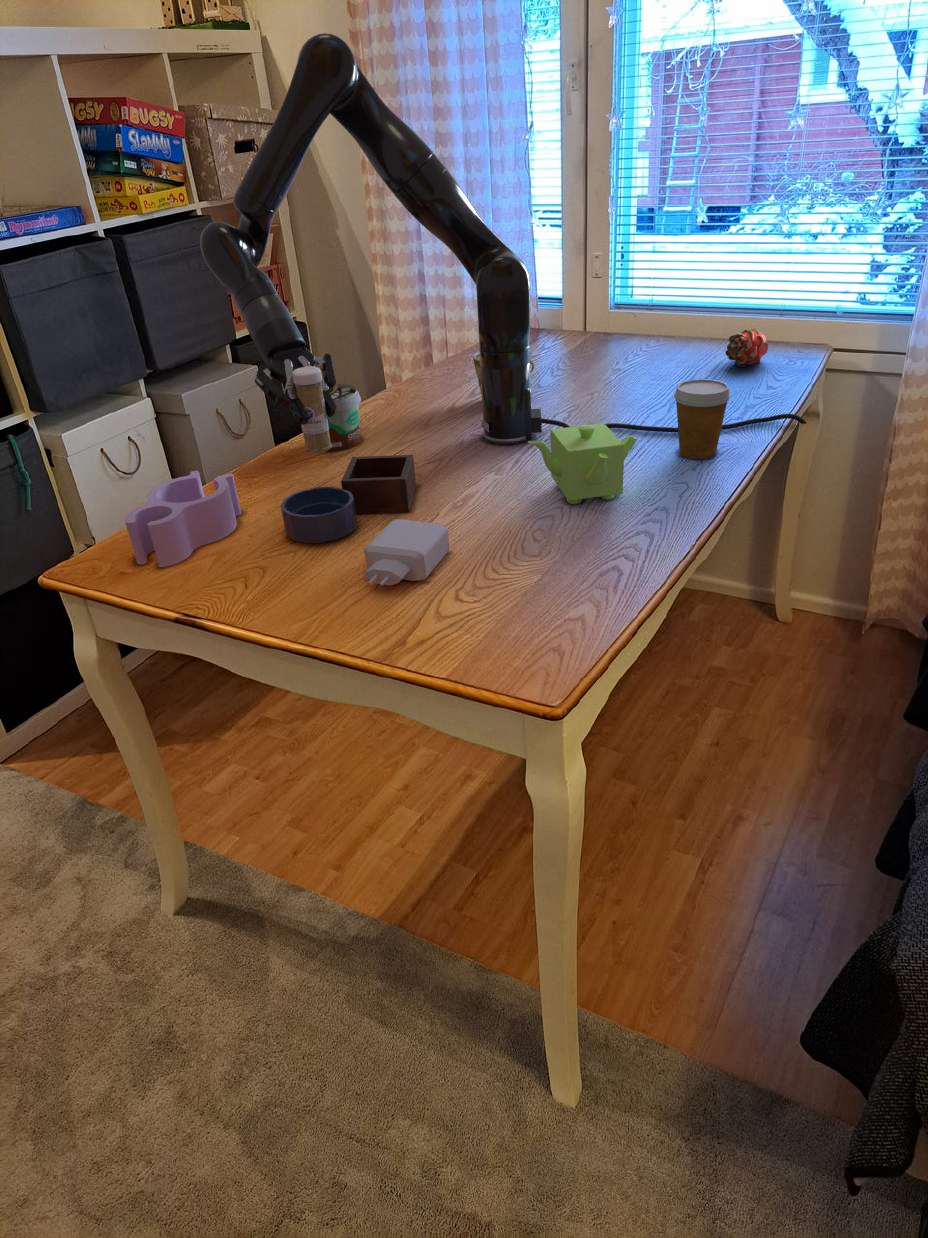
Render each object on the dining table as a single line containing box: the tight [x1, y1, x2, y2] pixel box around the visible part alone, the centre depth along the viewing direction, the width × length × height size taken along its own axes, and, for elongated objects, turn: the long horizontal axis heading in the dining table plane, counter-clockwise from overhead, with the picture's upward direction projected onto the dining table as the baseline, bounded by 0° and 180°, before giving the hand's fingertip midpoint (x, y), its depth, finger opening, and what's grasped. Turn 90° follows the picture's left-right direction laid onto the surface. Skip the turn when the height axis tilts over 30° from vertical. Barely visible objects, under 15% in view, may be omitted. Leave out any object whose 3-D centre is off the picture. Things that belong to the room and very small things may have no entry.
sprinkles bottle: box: [292, 366, 332, 454], centre depth 145 cm, size 5×5×13 cm
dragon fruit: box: [725, 328, 769, 368], centre depth 198 cm, size 8×8×12 cm
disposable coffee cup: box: [673, 378, 732, 460], centre depth 153 cm, size 10×10×12 cm
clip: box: [124, 470, 242, 568], centre depth 139 cm, size 20×12×7 cm, turn 161°
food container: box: [326, 383, 362, 452], centre depth 170 cm, size 12×6×10 cm, turn 168°
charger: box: [363, 518, 450, 587], centre depth 124 cm, size 5×9×15 cm
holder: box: [340, 454, 417, 515], centre depth 146 cm, size 10×10×6 cm
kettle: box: [527, 422, 638, 505], centre depth 142 cm, size 15×14×11 cm
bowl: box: [280, 486, 358, 544], centre depth 138 cm, size 11×11×5 cm
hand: (319, 417), depth 144 cm, fingers closed on sprinkles bottle, 4 cm apart
